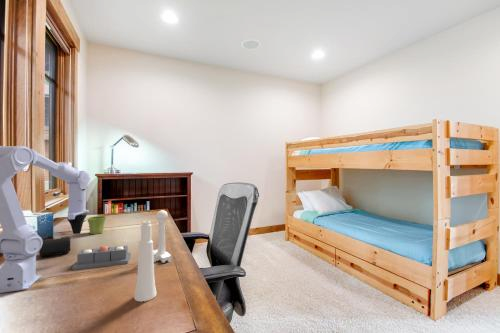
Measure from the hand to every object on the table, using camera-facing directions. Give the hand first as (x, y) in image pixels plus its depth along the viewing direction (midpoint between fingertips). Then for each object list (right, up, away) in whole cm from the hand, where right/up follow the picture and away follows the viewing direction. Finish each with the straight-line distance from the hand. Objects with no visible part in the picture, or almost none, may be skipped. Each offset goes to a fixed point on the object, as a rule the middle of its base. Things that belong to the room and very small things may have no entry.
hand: (76, 233), depth 96 cm
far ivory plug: (+18, -10, -1) cm, 20 cm away
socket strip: (+13, -11, -3) cm, 17 cm away
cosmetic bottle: (+40, -11, -27) cm, 49 cm away
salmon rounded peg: (+13, -9, -3) cm, 16 cm away
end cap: (-13, -11, +5) cm, 17 cm away
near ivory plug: (+7, -10, -5) cm, 13 cm away
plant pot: (-16, -11, +38) cm, 42 cm away
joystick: (+33, -11, +1) cm, 35 cm away
